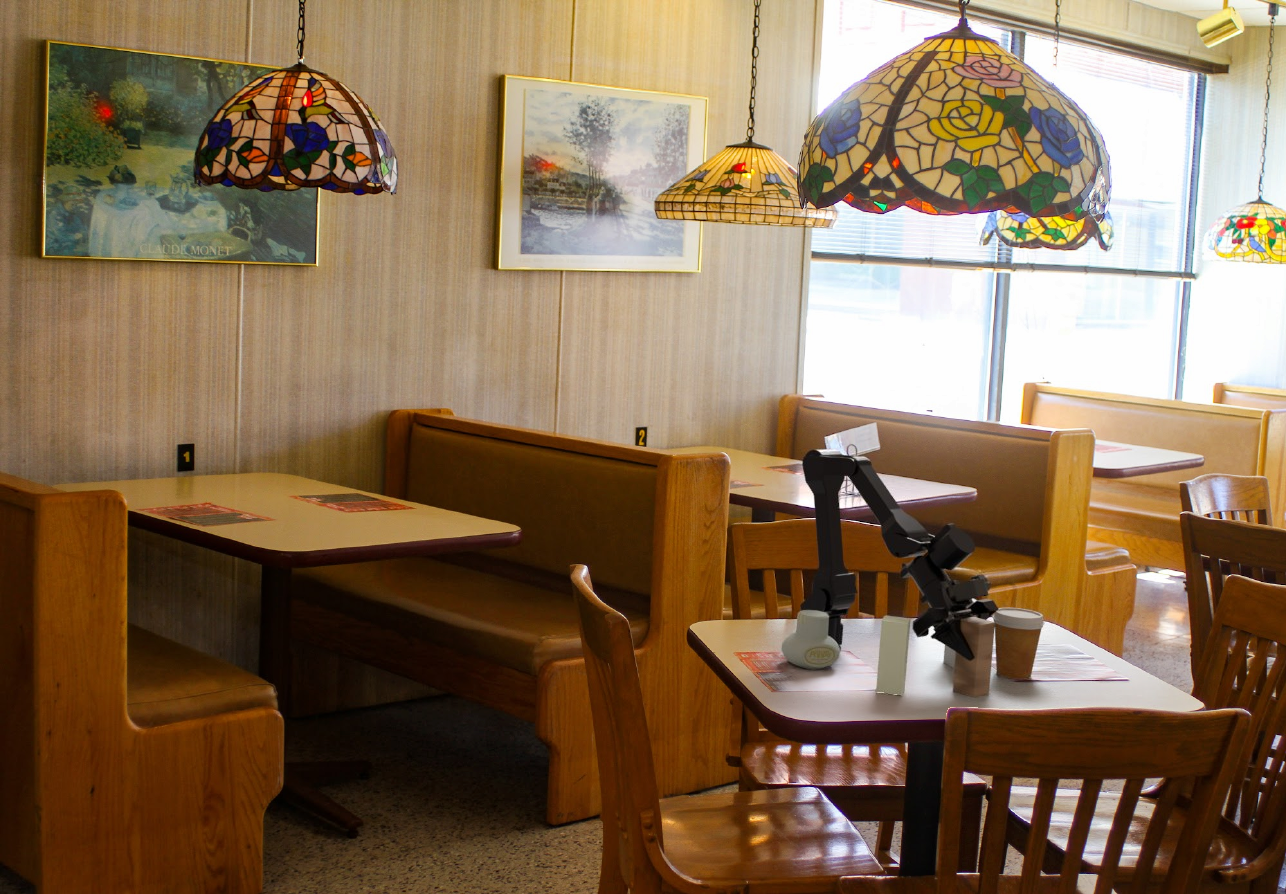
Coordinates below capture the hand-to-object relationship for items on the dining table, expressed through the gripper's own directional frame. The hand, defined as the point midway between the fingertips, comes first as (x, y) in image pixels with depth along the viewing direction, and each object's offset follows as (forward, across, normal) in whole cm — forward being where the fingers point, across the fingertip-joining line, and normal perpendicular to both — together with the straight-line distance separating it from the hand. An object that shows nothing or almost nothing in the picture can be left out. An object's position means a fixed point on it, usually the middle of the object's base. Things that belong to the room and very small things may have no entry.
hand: (980, 657), depth 225 cm
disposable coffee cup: (+2, +18, +8) cm, 19 cm away
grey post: (-5, +13, +14) cm, 20 cm away
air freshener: (-15, -13, +25) cm, 32 cm away
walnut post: (+4, 0, +6) cm, 7 cm away
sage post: (-2, -13, +11) cm, 17 cm away
